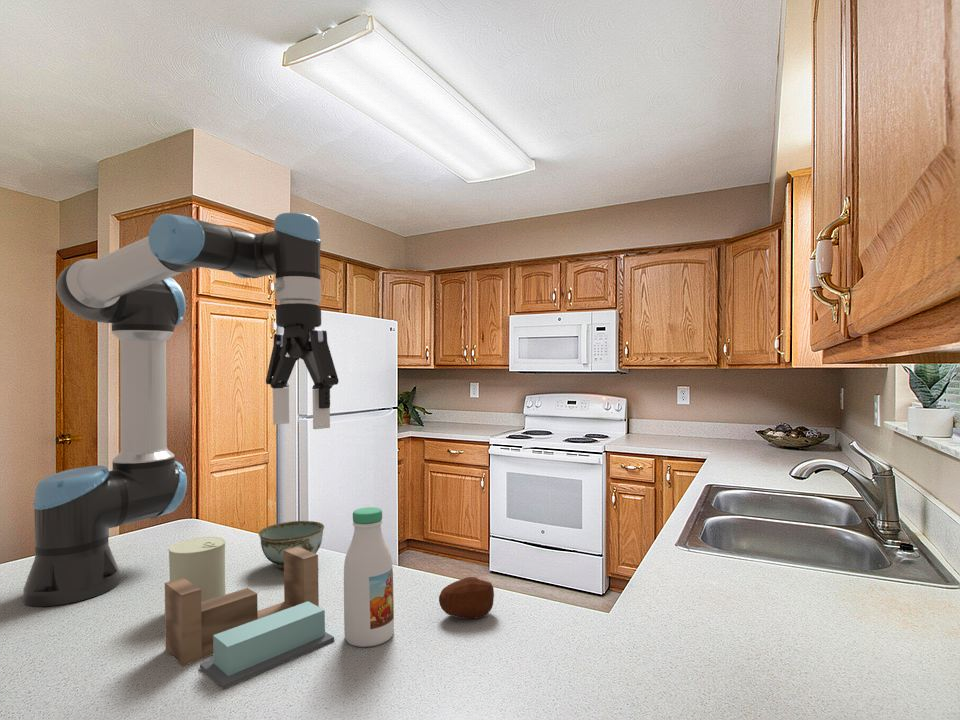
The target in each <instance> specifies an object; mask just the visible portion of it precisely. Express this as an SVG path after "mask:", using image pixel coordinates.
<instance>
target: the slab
mask: <svg viewBox="0 0 960 720" xmlns="http://www.w3.org/2000/svg"><path fill="white" fill-rule="evenodd" d="M325 613H326V612H325V609H323V608H322V607H320V606H319V607H318V606H316V605H314V604H312V603H311V602H309V601H307V602H304V603H302V604H299V605H296V606H293V607H291V608H288V609H285V610H282V611H279V612H277V613H274V614H271V615H268V616H265V617H263V618H260V619H257V620H254V621H252V622H249V623H246V624H243V625H240V626H238V627H235V628H232V629H229V630H227V631H224V632H221V633H218V634H215V635H213V654H212V656H213V658H212V659H213V663H214V664H215V665H216V666H217V667H218V668H219V669H221V670H222V671H223V672H224V673H225V674H226V675H227V676H230V675H232V674H235V673H237V672H239V671H242V670H244V669H246V668H249V667H251V666H254V665H256V664H258V663H261V662H263V661H265V660H268V659H270V658H273V657H275V656H277V655H280V654H282V653H285V652H287V651H289V650H292V649H294V648H296V647H299V646H301V645H304V644H306V643H308V642H311V641H313V640H315V639H318V638H320V637H323V636H325V632H326V617H325V615H326V614H325Z"/></svg>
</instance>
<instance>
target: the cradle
mask: <svg viewBox="0 0 960 720" xmlns="http://www.w3.org/2000/svg"><path fill="white" fill-rule="evenodd" d="M283 588H284V589H283V593H284V595H283V597H284V598H283V601H282V602H280V603H277V604H274V605H271V606H268V607H265V608H262V609H259V610H258V592H255V591H254V590H252V589H251V588H248V587H245V588H242V589H239V590H236V591H233V592H232V591H231V592H230V593H226V595H223V596H220V597H216V598H213V599H210V600H207V601H204V602H201V589H200V588H198V587H197V586H195V585H194V584H192V583H191V582H189V581H188V580H186V579H185V578H181V579H177V580H174V581H170V580H169V581H167V582H164V625H165V628H164V635H165V637H164V638H165V641H164V642H165V645H164V646H165V649H164V650H165V651H166V652H167V653H168V654H169V655H170V656H171V657H172V658H173V659H174V660H175V661H176V662H177V663H179V664H180V666H181V667H184V666H186V665H188V664H192V663H194V662H197V661H199V660H202V659H205V658H207V657H210V656H213V635H215V634H218V633H221V632H224V631H227V630H229V629H232V628H235V627H238V626H240V625H243V624H246V623H249V622H252V621H254V620H257V619H260V618H263V617H265V616H268V615H271V614H274V613H277V612H279V611H282V610H285V609H288V608H291V607H293V606H296V605H299V604H302V603H304V602H307V601H309V602H311V603H312V604H314V605H316V606H318V607H320V606H319V605H320V604H319V601H320V600H319V596H320V595H319V554H318V553H316V554H315V553H312V552H310V551H308V550H305V549H303V548H300V547H298V546H297V547H294V548H290V549H286V550H284V570H283Z"/></svg>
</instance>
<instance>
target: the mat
mask: <svg viewBox="0 0 960 720" xmlns="http://www.w3.org/2000/svg"><path fill="white" fill-rule="evenodd" d="M333 642H335V636H333V635H331V634H330V633H328V632H326V631H325V636H323V637H320V638H318V639H315V640H313V641H311V642H308V643H306V644H304V645H301V646H299V647H296V648H294V649H292V650H289V651H287V652H285V653H282V654H280V655H277V656H275V657H273V658H270V659H268V660H265V661H263V662H261V663H258V664H256V665H254V666H251V667H249V668H246V669H244V670H242V671H239V672H237V673H235V674H232V675H230V676H227V675H226V674H225V673H224V672H223V671H222V670H221V669H219V668H218V667H217V666H216V665H215V664H214V663H213V658H211V659H209V660H206V661H203V662H201V663H199V669H200V670H202V672H204V673H205V674H206V676H208V677H209V678H210V679H212V681H213V682H215V684H217V685H218V686H219V687H220V688H221V689H222V690H225V689H227V688H230V687H232V686H234V685H237V684H238V683H240V682H243V681H245V680H249V679H250V678H253V677H255V676H257V675H260V674H261V673H264V672H267V671H268V670H270V669H273V668H275V667H276V668H277V667H278V666H279V665H280V666H281V665H282V664H284V663H287V662H289V661H291V660H294V659H297V658H298V657H301V656H303V655H305V654H307V653H310V652H313V651H314V650H318V648H319V649H320V648H321V647H323V646H326V645H328V644H330V643H333Z"/></svg>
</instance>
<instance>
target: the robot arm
mask: <svg viewBox="0 0 960 720" xmlns="http://www.w3.org/2000/svg"><path fill="white" fill-rule="evenodd" d="M273 225H274V226H273V229H274V230H272V231H268V232H264V233H263V232H262V233H255V232H250V231H246V230H242V229H239V228H238V229H237V228H233V227H229V226H225V225H220V224H217V223H214V222H213V223H212V222H208V221H205V220H200V219H197V218H193V217H191V216H188V215H187V216H186V215H178V214H171V213H163V214H161V215H158V216H157V217H155V220H154V222H153V223H151V225H150V228H149V231H148V235H147V236H146V237H143V238H141V239H139V240H136V241H134V242H132V243H130V244H128V245H125V246H123V247H121V248H118V249H116V250H115V251H112V252H110V253H107V254H105V255H102V256H101V257H99V258H84V259H79V260H77V261H75V262H73V263H71V264H70V265H68V266H67V267H65V268H63V270H61V272H60V274H59V275H58V277H57V279H56V285H55V286H56V288H55V289H56V294H57V297H58V299H59V301H60V303H61V304H62V305H63V306H64V308H65V309H67V310H68V311H69V312H70V313H71V314H73V315H75V316H77V317H78V318H81V319H83V320H87V321H90V322H95V323H103V324H104V323H105V324H111V334H112V335H114V336H115V337H116V338H117V339H118V340H119V347H120V348H119V349H120V352H119V356H120V358H119V360H120V362H119V363H120V364H119V365H120V368H119V369H120V371H119V372H120V374H119V375H120V452H119V453H118V454H117V455H116V456H115V457H114V458H113V459H112V468H111V469H112V470H109V469H108V467H106V466H104V465H90V466H89V465H88V466H83V467H76V468H71V469H66V470H63V471H59V472H56V473H53V474H50V475H49V476H46V477H44V478H43V479H41V480H40V481H39V482H38V483H37V484H36V485H35V491H34V501H33V504H32V505H33V511H34V513H33V514H34V559H33V563H32V564H31V568H30V570H29V574H28V576H27V579H26V582H25V584H24V586H23V592H22V594H23V598H22V599H23V603H24V604H25V605H27V606H31V607H51V606H53V607H55V606H60V605H67V604H72V603H76V602H80V601H84V600H88V599H91V598H93V597H94V598H95V597H97V596H99V595H102V594H104V593H106V592H109V591H110V590H111V591H112V589H114V588H115V587H117V585H119V583H120V569H119V566H118V564H117V562H116V560H115V557H114V555H113V552H112V550H111V548H110V543H109V530H110V529H113V528H117V527H120V526H125V525H128V524H133V523H137V522H141V521H145V520H153V519H157V518H159V517H161V516H164V515H167V514H170V513H172V512H174V511H176V510H177V509H178V507H179V506H180V505H181V504H182V502H183V501H184V499H185V495H186V493H187V489H188V488H187V486H188V478H187V477H188V476H187V473H186V472H185V468H184V466H183V465H182V464H181V463H180V462H178V461H176V460H175V458H176V457H175V454H174V453H173V452H172V451H170V450H169V449H168V446H167V445H168V444H167V442H168V439H167V438H168V436H167V434H168V433H167V432H168V431H167V430H168V429H167V428H168V427H167V426H168V425H167V424H168V423H167V422H168V421H167V418H168V417H167V341H168V340H169V339H170V338H171V337H172V336H173V335H174V333H175V332H174V331H175V329H174V328H175V327H177V326H178V325H180V324H182V322H183V320H184V316H185V315H186V305H187V303H186V299H185V295H184V291H183V290H182V289H183V288H182V287H181V285H180V284H179V283H178V282H177V281H176V280H175V279H174V278H172V277H175V276H177V275H181V274H182V273H185V272H188V271H192V270H195V269H198V268H204V269H211V270H217V271H224V272H229V273H232V274H233V275H235V276H236V277H238V278H241V279H259V278H263V277H268V276H274V275H275V283H274V288H275V300H276V302H277V303H279V304H277V305H276V307H275V323H276V326H278V327H279V328H283V333H274V334H273V347H272V352H271V355H270V361H269V364H268V370H267V374H266V378H265V384H266V385H270V388H271V389H272V415H273V416H272V421H273V425H275V426H276V425H286V424H290V385H289V382H288V381H289V379H290V377H291V375H292V372H293V371H294V367H295V365H296V362H297V361H298V360H300V359H301V360H303V362H304V365H305V367H306V369H307V371H308V374H309V376H310V378H311V380H312V382H313V386H312V387H311V389H312V429H313V430H322V429H330V428H331V408H330V407H331V389H332V388H333V386H335V385H338V384H339V377H338V373H337V371H336V367H335V363H334V360H333V357H332V353H331V349H330V346H329V342H328V332H327V330H325V329H316V328H319V327H321V326H322V307H321V306H320V305H319V304H320V303H321V302H322V282H321V281H322V278H321V243H322V240H321V231H320V223H319V220H318V219H317V218H316V217H314V216H312V215H309V214H306V213H300V212H282V213H279V214H278V215H277V216H276V217H275V219H274V224H273Z"/></svg>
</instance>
